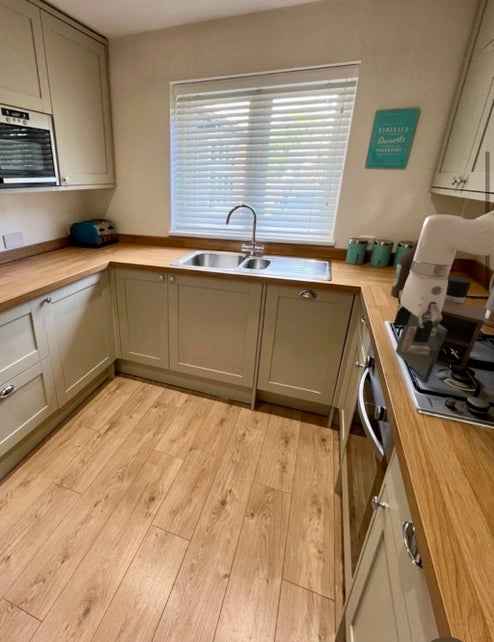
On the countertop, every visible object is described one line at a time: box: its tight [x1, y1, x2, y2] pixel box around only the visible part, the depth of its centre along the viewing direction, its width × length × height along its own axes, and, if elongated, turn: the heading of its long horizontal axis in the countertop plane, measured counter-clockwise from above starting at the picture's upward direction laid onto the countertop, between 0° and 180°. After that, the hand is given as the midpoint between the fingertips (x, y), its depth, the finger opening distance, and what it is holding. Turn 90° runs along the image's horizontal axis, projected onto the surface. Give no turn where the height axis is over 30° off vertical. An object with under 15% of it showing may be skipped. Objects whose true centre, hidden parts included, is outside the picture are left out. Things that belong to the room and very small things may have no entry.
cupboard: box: [427, 299, 487, 369], centre depth 98 cm, size 12×16×16 cm
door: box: [395, 313, 447, 384], centre depth 92 cm, size 7×16×16 cm, turn 173°
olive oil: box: [390, 239, 419, 300], centre depth 143 cm, size 11×11×25 cm
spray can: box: [445, 276, 472, 304], centre depth 110 cm, size 7×7×20 cm
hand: (409, 332), depth 85 cm, fingers open, 9 cm apart
